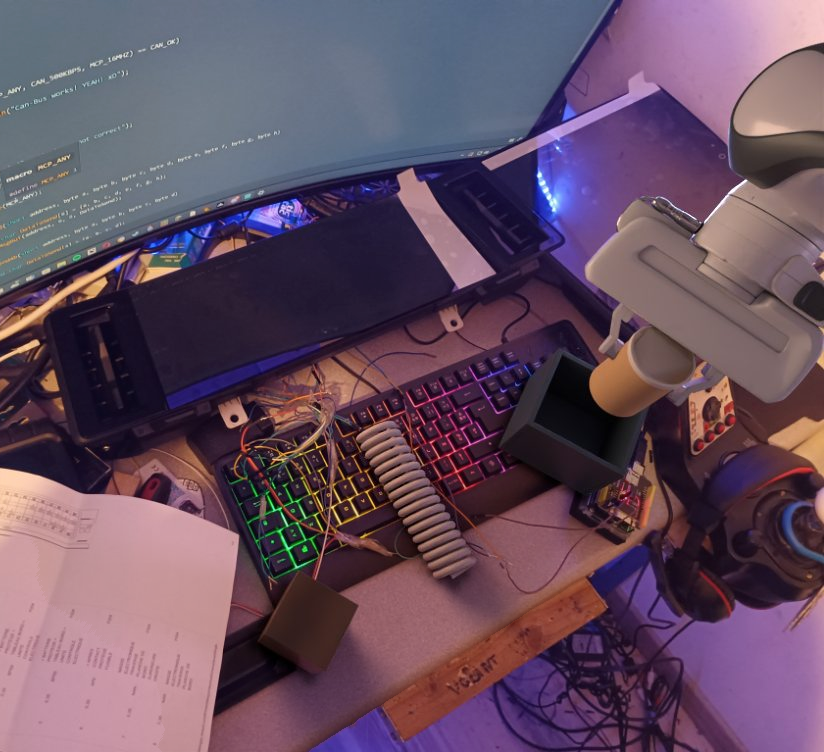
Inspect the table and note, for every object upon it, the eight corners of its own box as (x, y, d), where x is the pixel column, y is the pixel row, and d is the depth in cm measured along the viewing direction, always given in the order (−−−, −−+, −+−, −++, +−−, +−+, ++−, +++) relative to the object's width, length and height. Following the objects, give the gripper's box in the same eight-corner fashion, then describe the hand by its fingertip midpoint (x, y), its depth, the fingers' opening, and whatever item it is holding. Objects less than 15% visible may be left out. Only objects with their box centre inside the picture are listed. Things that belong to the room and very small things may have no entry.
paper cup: (654, 380, 72) (703, 345, 64) (636, 429, 69) (686, 399, 62) (598, 350, 72) (642, 313, 65) (579, 399, 69) (621, 365, 62)
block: (339, 617, 72) (359, 605, 62) (310, 673, 69) (326, 671, 59) (287, 586, 72) (298, 570, 62) (257, 642, 70) (264, 634, 60)
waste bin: (612, 424, 85) (652, 397, 77) (585, 497, 81) (624, 477, 73) (527, 379, 86) (559, 347, 78) (496, 449, 82) (526, 423, 74)
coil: (486, 560, 72) (396, 409, 77) (450, 582, 70) (360, 425, 75) (467, 570, 76) (383, 425, 81) (433, 590, 74) (348, 441, 79)
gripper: (647, 183, 60) (542, 316, 65) (866, 327, 57) (739, 454, 62) (641, 186, 66) (545, 307, 71) (839, 316, 63) (725, 433, 68)
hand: (637, 377), depth 66 cm, fingers closed on paper cup, 6 cm apart
